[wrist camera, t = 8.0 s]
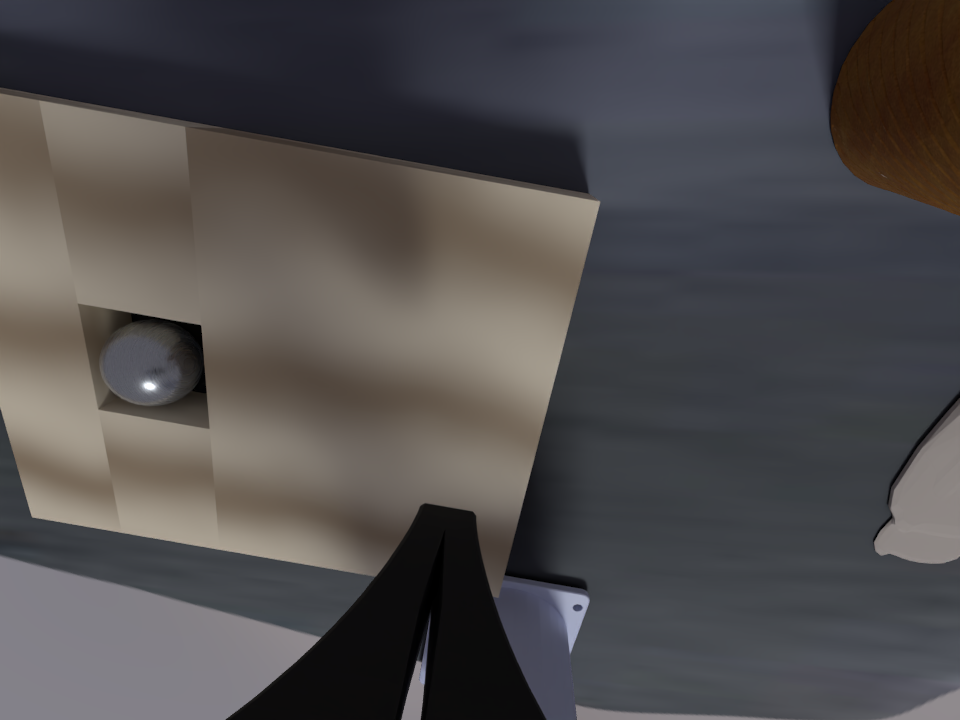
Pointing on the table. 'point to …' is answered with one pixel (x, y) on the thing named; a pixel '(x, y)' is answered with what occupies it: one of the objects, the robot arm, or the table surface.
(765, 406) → the table surface
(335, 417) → the birch plate
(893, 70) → the disposable coffee cup
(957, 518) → the beige bookend
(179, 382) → the steel ball
